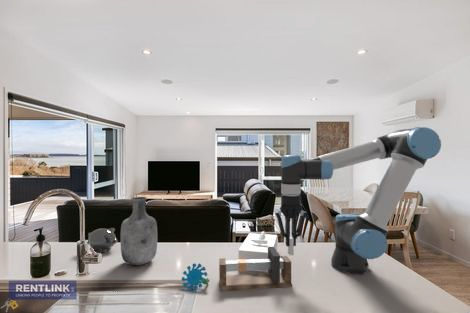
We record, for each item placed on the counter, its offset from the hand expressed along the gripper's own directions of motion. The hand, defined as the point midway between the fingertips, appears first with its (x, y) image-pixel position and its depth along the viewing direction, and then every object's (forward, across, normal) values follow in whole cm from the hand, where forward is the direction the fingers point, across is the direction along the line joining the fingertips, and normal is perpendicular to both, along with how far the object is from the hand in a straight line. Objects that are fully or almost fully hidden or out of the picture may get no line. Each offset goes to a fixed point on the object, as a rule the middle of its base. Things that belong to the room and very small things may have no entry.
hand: (290, 254), depth 105 cm
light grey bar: (+5, +14, 0) cm, 15 cm away
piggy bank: (+11, +87, -41) cm, 97 cm away
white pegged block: (+11, +8, -22) cm, 26 cm away
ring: (+9, +7, 0) cm, 11 cm away
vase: (+11, +64, -24) cm, 70 cm away
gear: (+11, +37, +1) cm, 39 cm away
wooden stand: (+11, +14, 0) cm, 18 cm away
